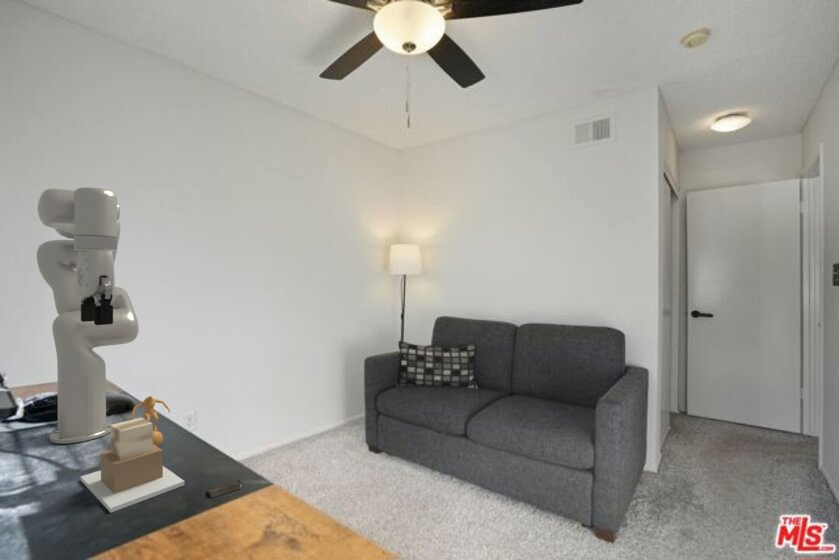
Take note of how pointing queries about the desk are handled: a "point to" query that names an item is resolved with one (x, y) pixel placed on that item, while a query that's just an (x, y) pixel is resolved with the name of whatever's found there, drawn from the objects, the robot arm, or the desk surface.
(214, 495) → the block
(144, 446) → the maple block
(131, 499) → the build board
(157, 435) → the figurine
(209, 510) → the desk surface
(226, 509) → the desk surface
